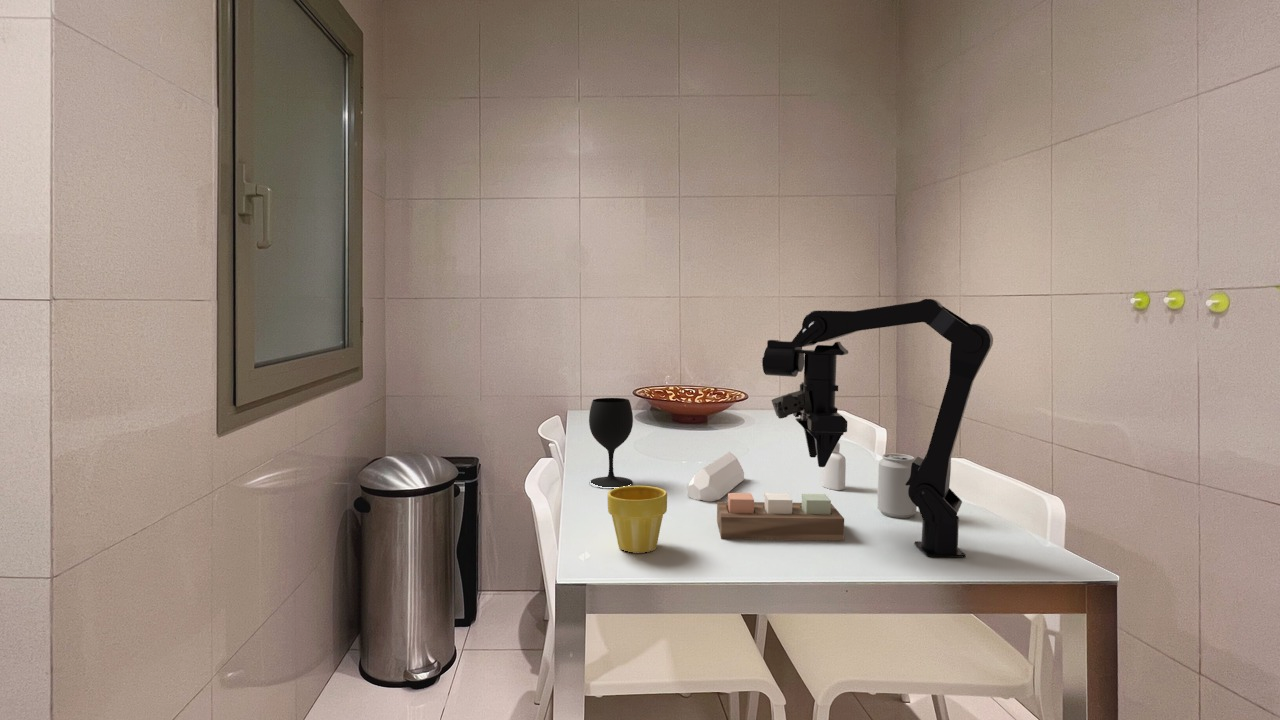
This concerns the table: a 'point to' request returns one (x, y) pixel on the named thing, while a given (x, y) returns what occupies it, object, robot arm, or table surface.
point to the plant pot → (637, 516)
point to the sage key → (816, 504)
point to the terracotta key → (740, 503)
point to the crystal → (716, 479)
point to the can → (895, 486)
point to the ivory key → (778, 504)
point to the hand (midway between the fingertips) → (817, 461)
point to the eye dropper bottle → (834, 471)
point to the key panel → (779, 524)
